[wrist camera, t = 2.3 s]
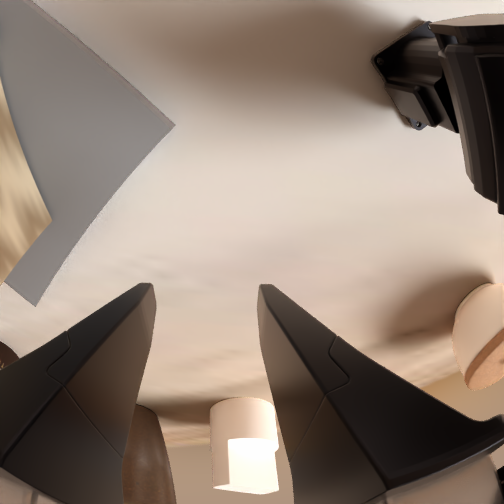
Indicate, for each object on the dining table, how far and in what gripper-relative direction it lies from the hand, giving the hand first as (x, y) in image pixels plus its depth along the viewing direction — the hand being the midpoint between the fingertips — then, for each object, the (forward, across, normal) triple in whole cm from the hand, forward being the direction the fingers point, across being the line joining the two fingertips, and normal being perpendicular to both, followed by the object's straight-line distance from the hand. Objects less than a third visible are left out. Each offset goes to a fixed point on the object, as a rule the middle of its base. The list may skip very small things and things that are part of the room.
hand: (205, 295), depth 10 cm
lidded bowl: (+13, +32, -15) cm, 38 cm away
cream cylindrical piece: (+13, +3, -34) cm, 37 cm away
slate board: (+13, -18, +3) cm, 23 cm away
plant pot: (+13, -13, -36) cm, 41 cm away
